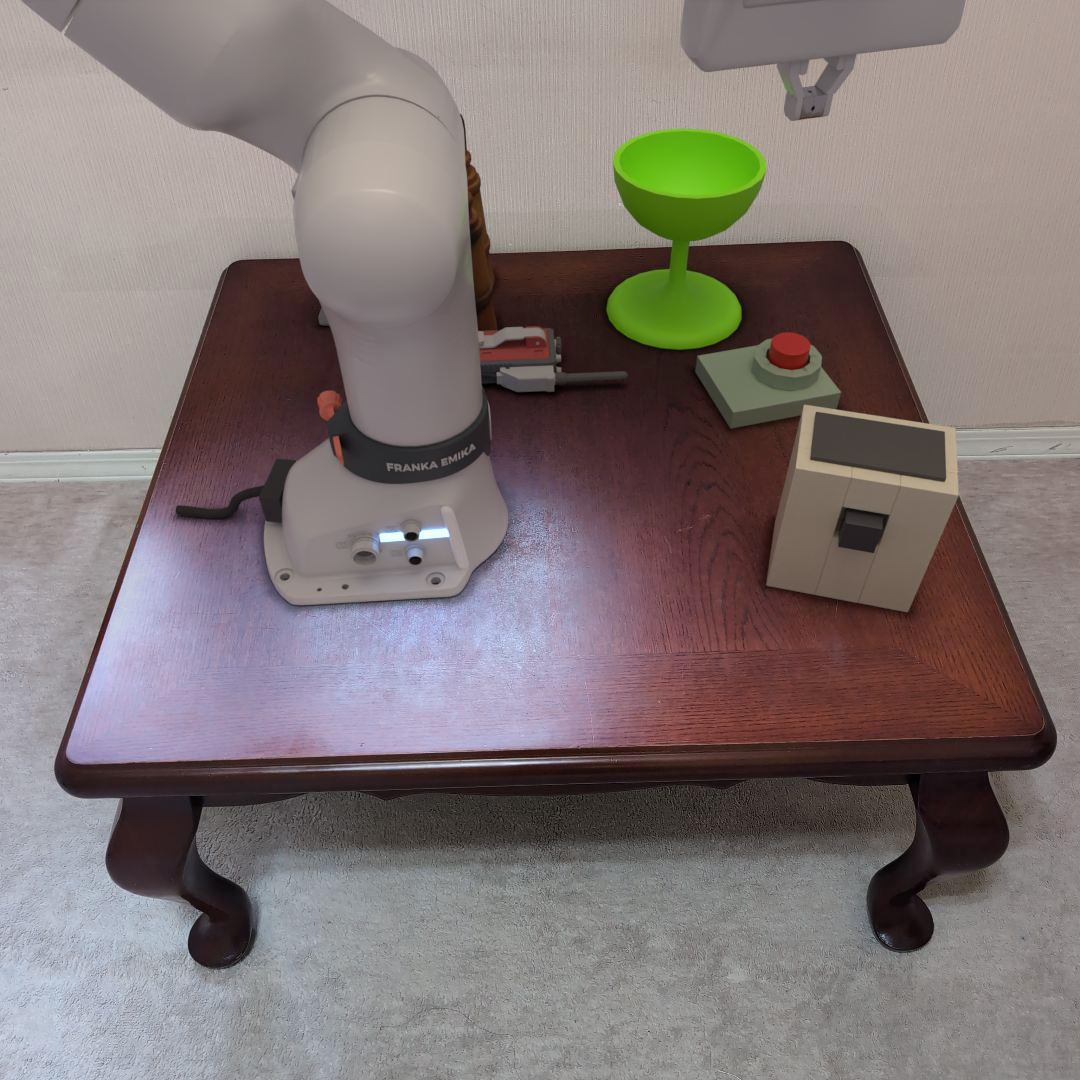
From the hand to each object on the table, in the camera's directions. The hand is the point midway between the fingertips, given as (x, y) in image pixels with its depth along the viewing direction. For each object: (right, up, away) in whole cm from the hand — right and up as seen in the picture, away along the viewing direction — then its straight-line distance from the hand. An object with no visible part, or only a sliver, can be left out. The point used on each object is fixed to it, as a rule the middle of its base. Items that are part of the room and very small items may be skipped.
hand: (805, 116), depth 71 cm
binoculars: (-29, -4, +42) cm, 52 cm away
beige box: (+7, -34, +13) cm, 37 cm away
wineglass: (-4, -5, +41) cm, 42 cm away
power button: (+6, -32, +5) cm, 33 cm away
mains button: (+6, -13, +28) cm, 32 cm away
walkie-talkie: (-21, -13, +33) cm, 41 cm away
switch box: (+4, -16, +30) cm, 35 cm away
